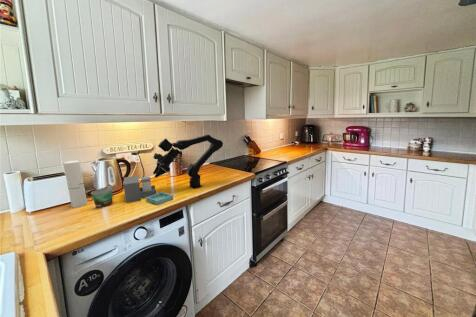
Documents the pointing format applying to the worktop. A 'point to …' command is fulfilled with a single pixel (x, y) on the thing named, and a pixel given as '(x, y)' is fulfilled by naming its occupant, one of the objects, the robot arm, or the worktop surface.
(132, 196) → the coffee machine bay
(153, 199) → the teal tray
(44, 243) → the worktop surface
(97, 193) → the food container
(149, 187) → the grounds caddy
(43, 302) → the worktop surface
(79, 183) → the grey rectangular column
